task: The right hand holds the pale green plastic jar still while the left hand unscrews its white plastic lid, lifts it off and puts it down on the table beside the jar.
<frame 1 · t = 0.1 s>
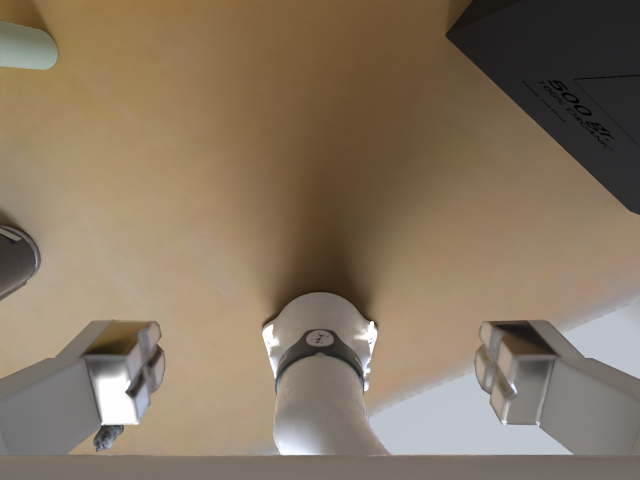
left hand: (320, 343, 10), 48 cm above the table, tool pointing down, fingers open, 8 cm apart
black boxy piece: (603, 66, 52), on the table
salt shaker: (133, 393, 70), on the table
jar: (39, 49, 51), on the table
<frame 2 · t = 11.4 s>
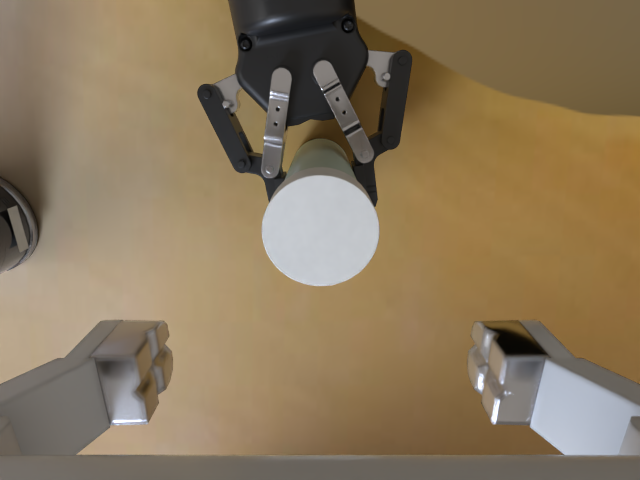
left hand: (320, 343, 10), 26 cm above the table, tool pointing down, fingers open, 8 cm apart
right hand: (326, 217, 29), fingers closed on jar, 5 cm apart
lid: (320, 230, 18), point 17 cm above the table, screwed on, not yet turned
jar: (320, 167, 34), on the table, touching right hand
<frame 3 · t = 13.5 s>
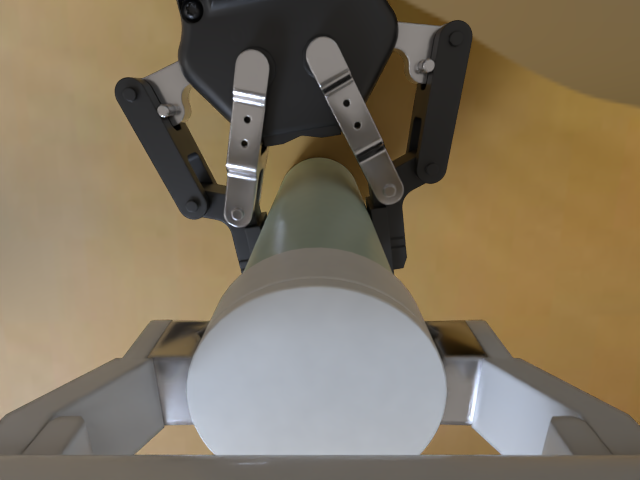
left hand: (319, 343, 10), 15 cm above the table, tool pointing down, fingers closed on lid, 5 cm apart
right hand: (327, 282, 19), fingers closed on jar, 5 cm apart
lid: (317, 390, 8), point 17 cm above the table, screwed on, not yet turned, touching left hand
jar: (319, 197, 24), on the table, touching right hand
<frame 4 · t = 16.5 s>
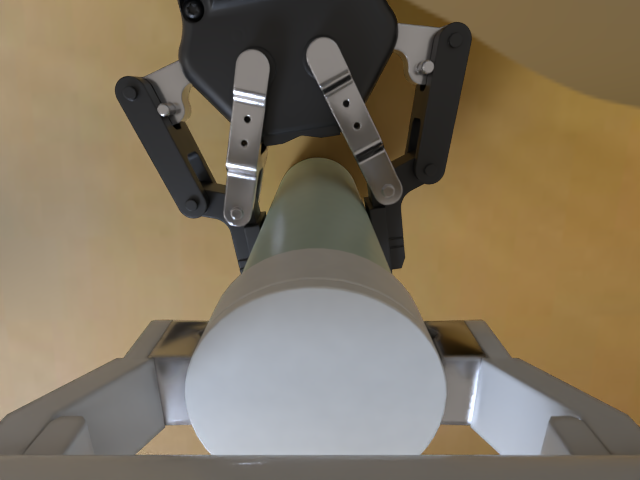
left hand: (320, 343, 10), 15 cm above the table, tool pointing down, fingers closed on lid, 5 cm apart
right hand: (326, 281, 19), fingers closed on jar, 5 cm apart
lid: (316, 392, 8), point 17 cm above the table, turned 74° so far, risen 0.1 cm, still on its thread, touching left hand
jar: (317, 197, 24), on the table, touching right hand
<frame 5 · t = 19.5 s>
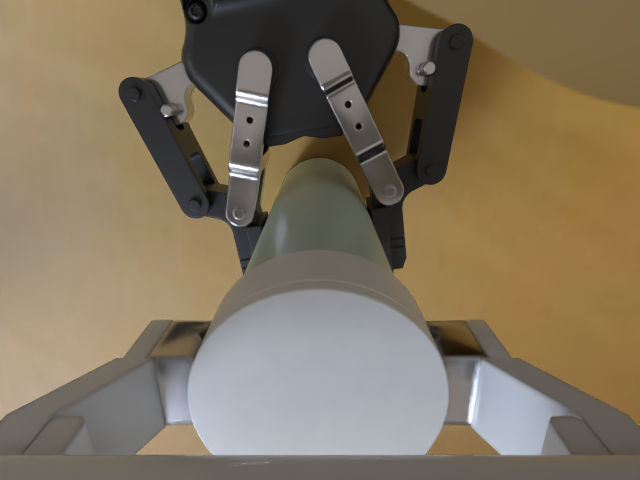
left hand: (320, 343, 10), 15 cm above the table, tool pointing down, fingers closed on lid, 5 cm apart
right hand: (327, 281, 19), fingers closed on jar, 5 cm apart
lid: (318, 393, 8), point 17 cm above the table, turned 147° so far, risen 0.2 cm, still on its thread, touching left hand
jar: (319, 197, 24), on the table, touching right hand
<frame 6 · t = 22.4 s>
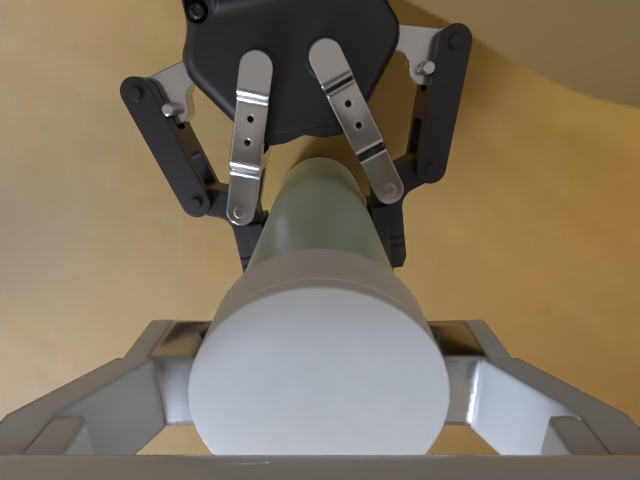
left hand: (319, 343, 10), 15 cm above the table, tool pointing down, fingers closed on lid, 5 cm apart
right hand: (328, 279, 19), fingers closed on jar, 5 cm apart
lid: (319, 392, 8), point 17 cm above the table, turned 221° so far, risen 0.3 cm, still on its thread, touching left hand
jar: (319, 196, 25), on the table, touching right hand
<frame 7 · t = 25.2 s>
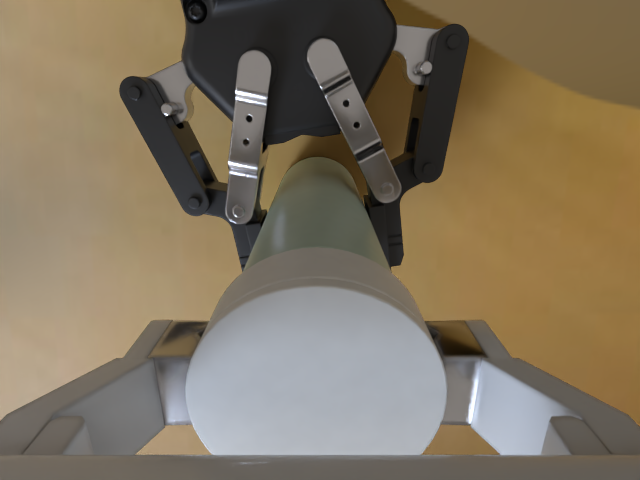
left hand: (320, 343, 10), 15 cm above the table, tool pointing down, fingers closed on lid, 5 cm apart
right hand: (326, 278, 20), fingers closed on jar, 5 cm apart
lid: (316, 391, 8), point 17 cm above the table, turned 295° so far, risen 0.4 cm, still on its thread, touching left hand
jar: (317, 195, 25), on the table, touching right hand
when the left hand's fingers open (2 cm above the table, at t = 34.4 s): lid drops 2 cm, point 2 cm above the table.
when the right hand's fingers open (6 cm above the table, at t = 35.5 s): jar stays where it is, on the table.
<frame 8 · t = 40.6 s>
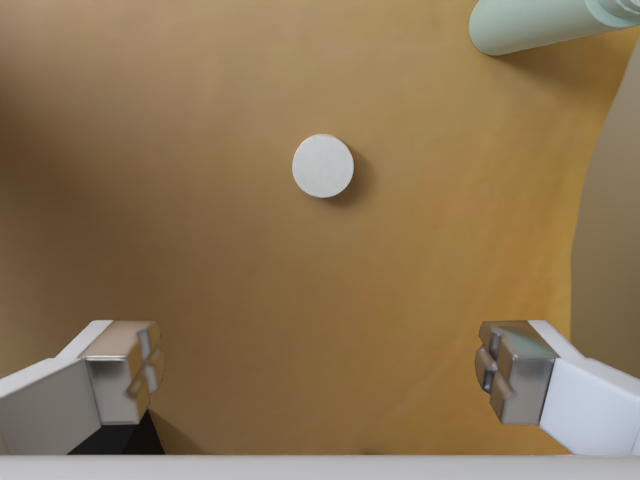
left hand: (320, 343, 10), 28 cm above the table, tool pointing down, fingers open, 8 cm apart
lid: (322, 167, 35), point 2 cm above the table, off its thread
jar: (498, 23, 32), on the table
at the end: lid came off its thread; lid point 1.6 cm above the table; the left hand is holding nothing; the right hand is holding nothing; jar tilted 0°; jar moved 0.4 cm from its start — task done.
